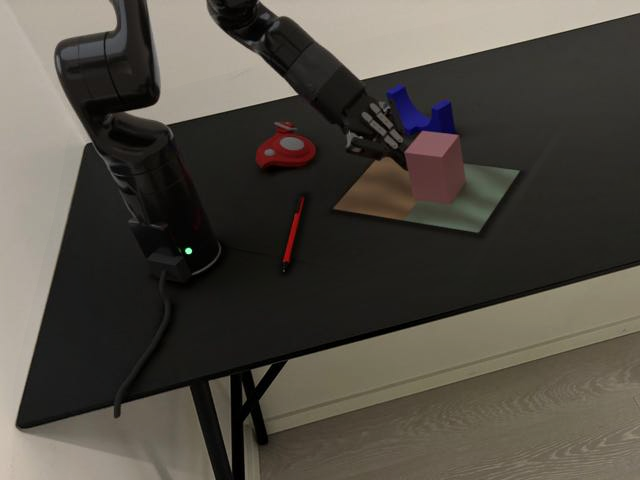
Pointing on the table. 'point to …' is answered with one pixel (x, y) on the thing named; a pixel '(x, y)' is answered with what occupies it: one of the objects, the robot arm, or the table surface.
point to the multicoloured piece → (397, 201)
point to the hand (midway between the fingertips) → (415, 166)
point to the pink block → (435, 167)
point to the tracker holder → (285, 148)
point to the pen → (292, 233)
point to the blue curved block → (417, 121)
